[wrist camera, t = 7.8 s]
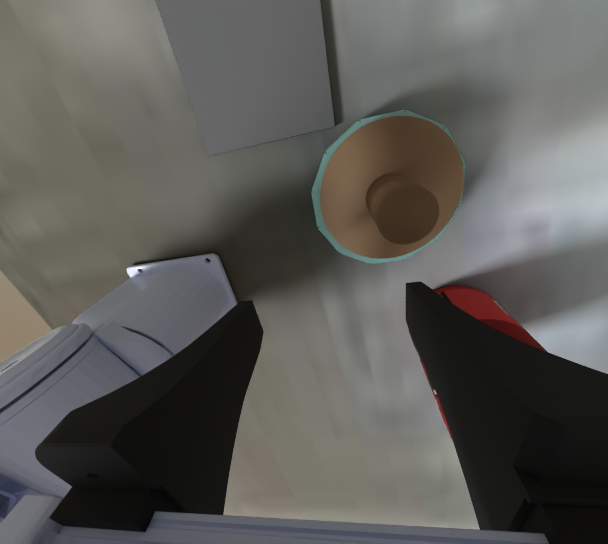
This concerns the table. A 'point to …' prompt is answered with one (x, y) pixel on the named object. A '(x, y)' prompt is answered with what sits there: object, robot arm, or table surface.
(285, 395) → the table surface
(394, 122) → the lid
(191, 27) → the mat
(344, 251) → the bowl
